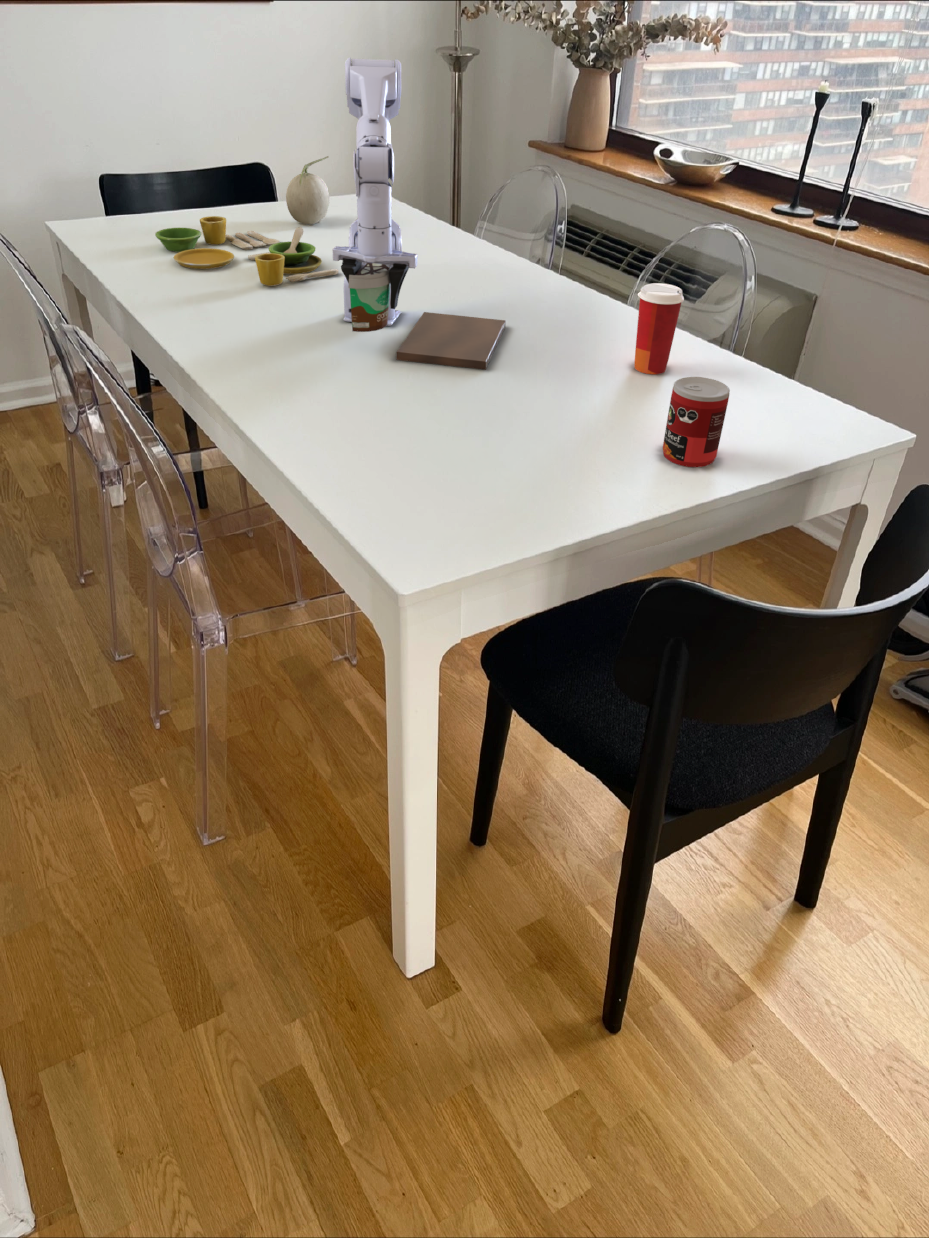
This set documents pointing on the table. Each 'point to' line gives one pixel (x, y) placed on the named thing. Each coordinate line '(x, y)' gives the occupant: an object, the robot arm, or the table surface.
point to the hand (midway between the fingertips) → (375, 305)
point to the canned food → (695, 421)
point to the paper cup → (656, 326)
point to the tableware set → (269, 264)
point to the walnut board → (452, 340)
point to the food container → (370, 297)
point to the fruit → (307, 197)
